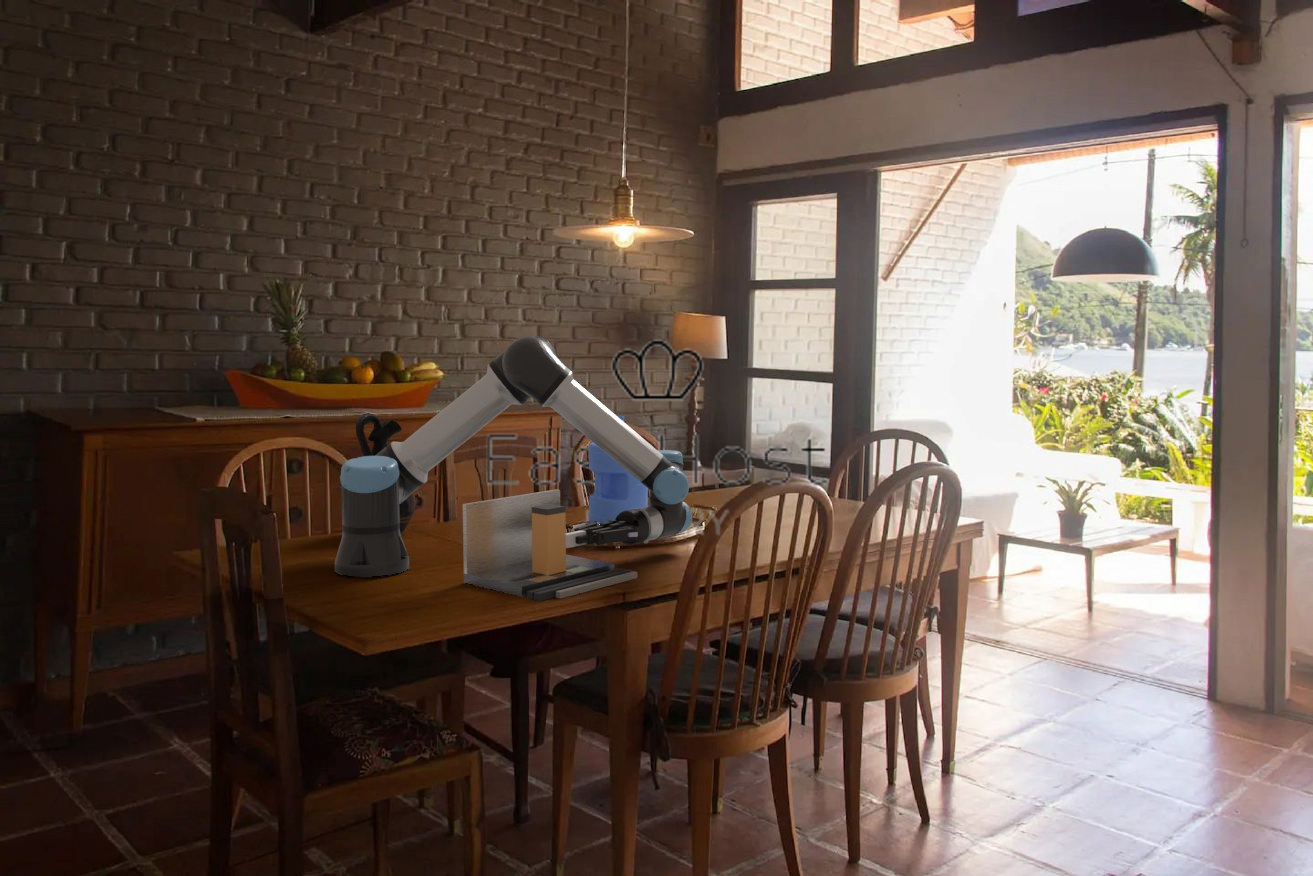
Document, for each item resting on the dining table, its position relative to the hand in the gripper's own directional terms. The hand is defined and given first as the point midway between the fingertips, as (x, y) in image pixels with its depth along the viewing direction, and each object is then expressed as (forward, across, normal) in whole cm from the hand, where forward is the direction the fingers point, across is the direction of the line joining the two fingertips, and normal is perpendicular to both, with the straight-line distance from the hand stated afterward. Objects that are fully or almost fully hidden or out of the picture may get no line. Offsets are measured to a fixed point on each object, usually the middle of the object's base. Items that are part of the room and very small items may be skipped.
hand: (561, 541), depth 214 cm
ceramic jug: (-4, +67, -8) cm, 67 cm away
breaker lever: (+3, +1, -6) cm, 6 cm away
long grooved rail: (+2, -8, -8) cm, 12 cm away
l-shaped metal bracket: (+2, +4, -8) cm, 9 cm away
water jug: (-55, +34, -8) cm, 65 cm away
